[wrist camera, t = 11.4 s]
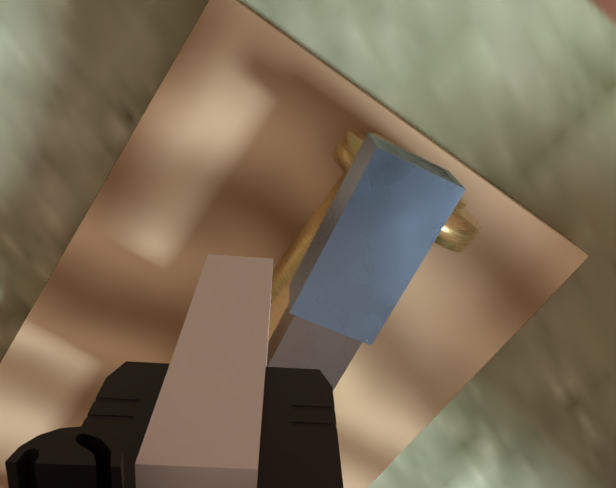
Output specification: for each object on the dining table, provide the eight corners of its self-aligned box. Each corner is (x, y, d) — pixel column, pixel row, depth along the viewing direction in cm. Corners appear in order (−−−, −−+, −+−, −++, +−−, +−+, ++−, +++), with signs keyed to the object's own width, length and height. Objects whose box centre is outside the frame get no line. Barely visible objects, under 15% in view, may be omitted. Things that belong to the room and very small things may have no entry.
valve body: (163, 549, 38) (131, 687, 30) (64, 506, 36) (5, 642, 28) (461, 188, 28) (523, 258, 21) (346, 107, 26) (369, 151, 19)
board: (252, 587, 40) (251, 608, 39) (-51, 457, 35) (-65, 476, 34) (575, 244, 30) (588, 256, 29) (221, -13, 25) (216, -14, 24)
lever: (250, 534, 25) (246, 586, 23) (155, 505, 25) (142, 555, 22) (465, 177, 19) (488, 201, 17) (348, 121, 18) (356, 138, 16)
